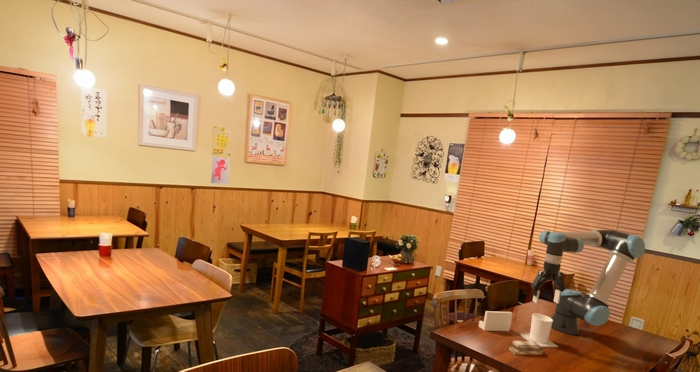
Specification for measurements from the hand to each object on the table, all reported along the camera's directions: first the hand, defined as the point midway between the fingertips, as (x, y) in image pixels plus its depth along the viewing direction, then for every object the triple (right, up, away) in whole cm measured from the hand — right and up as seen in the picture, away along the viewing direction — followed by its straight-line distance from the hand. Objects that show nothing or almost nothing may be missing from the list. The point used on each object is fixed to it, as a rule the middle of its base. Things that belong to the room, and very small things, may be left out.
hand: (545, 302), depth 190 cm
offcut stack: (-17, -19, -14) cm, 29 cm away
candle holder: (-3, -20, +1) cm, 20 cm away
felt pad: (-3, -20, +1) cm, 21 cm away
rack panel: (-23, -17, +9) cm, 30 cm away
